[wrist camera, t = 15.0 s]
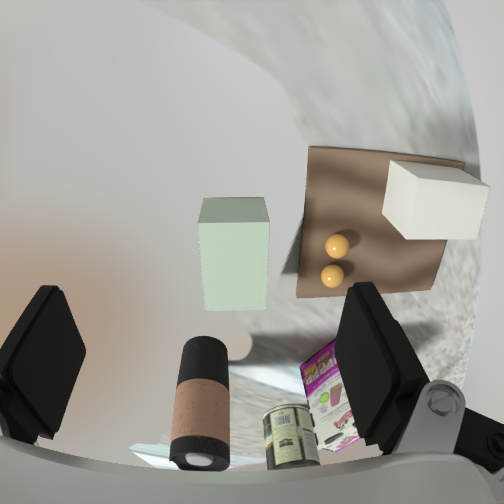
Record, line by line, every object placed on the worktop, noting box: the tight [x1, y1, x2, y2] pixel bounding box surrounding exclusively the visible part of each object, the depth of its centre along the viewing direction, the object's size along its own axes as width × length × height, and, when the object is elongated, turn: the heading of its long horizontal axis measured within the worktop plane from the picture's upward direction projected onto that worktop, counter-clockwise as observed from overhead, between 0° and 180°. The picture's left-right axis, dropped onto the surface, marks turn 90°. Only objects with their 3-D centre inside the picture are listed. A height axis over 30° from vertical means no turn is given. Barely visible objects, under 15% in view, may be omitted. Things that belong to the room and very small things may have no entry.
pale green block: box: [198, 197, 270, 311], centre depth 37 cm, size 11×7×7 cm, turn 179°
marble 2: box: [321, 264, 344, 288], centre depth 41 cm, size 3×3×3 cm
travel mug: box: [169, 336, 230, 472], centre depth 42 cm, size 8×8×20 cm
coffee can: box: [262, 404, 320, 470], centre depth 56 cm, size 10×10×14 cm
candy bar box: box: [300, 339, 360, 452], centre depth 45 cm, size 11×5×16 cm, turn 140°
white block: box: [382, 160, 490, 239], centre depth 34 cm, size 11×7×7 cm, turn 89°
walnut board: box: [296, 146, 464, 298], centre depth 40 cm, size 20×22×1 cm
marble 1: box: [325, 234, 349, 258], centre depth 39 cm, size 3×3×3 cm
